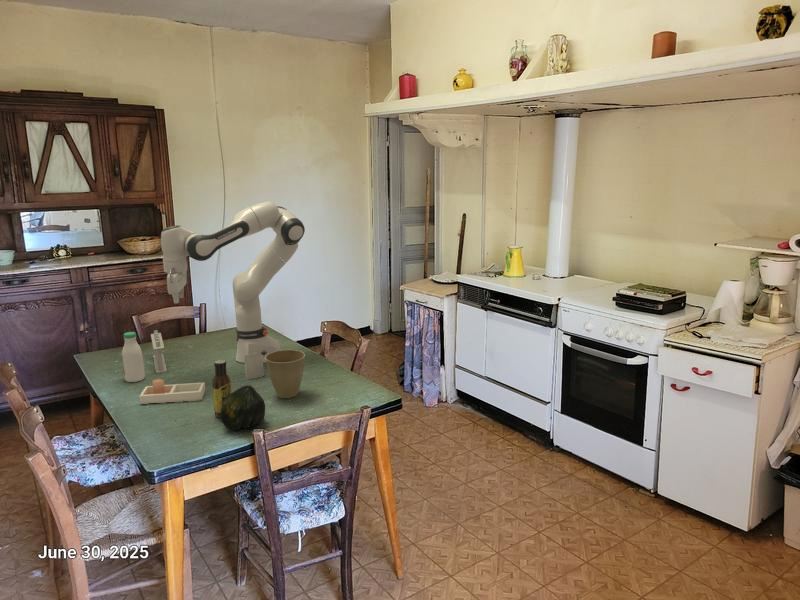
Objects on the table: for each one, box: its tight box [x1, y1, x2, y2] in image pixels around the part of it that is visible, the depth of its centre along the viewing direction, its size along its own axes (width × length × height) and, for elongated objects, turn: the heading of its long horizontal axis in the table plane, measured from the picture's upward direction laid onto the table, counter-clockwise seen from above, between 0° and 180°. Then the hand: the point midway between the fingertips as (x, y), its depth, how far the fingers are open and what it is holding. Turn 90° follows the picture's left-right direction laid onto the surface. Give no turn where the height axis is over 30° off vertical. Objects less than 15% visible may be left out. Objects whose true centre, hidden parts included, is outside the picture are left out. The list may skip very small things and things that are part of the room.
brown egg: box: [151, 378, 165, 394], centre depth 231 cm, size 4×4×6 cm
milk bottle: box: [121, 331, 146, 383], centre depth 250 cm, size 8×8×20 cm
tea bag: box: [243, 353, 265, 380], centre depth 252 cm, size 4×7×10 cm, turn 121°
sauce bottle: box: [212, 359, 232, 418], centre depth 214 cm, size 6×6×20 cm
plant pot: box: [265, 349, 306, 399], centre depth 232 cm, size 15×15×16 cm
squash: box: [220, 384, 266, 431], centre depth 207 cm, size 14×15×15 cm
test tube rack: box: [150, 330, 168, 374], centre depth 270 cm, size 25×4×13 cm, turn 24°
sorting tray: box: [138, 381, 206, 405], centre depth 232 cm, size 22×10×4 cm, turn 99°
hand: (178, 300), depth 246 cm, fingers open, 8 cm apart
